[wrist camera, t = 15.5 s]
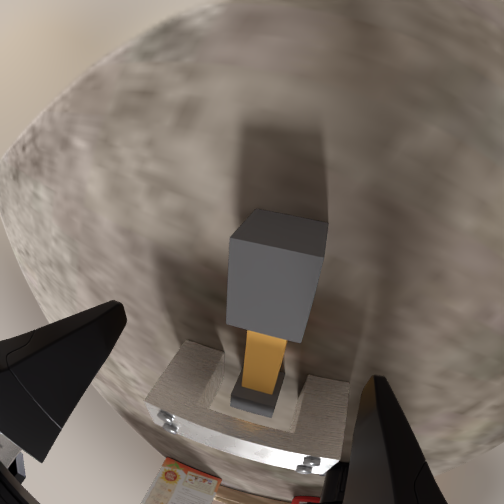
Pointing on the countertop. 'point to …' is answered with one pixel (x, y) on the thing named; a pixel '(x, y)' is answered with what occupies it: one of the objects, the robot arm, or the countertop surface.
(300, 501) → the canned food
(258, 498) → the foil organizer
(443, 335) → the countertop surface
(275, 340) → the plug
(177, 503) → the cracker box
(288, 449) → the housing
